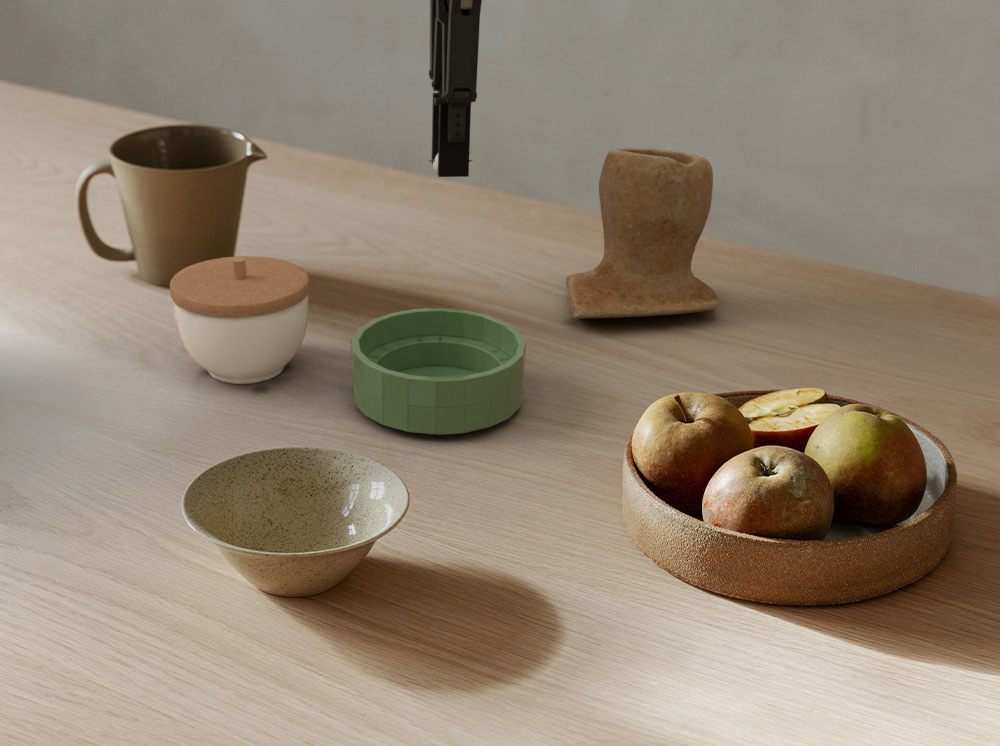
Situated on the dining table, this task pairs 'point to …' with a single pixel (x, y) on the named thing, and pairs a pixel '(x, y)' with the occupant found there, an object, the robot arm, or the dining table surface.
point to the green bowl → (438, 370)
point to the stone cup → (647, 237)
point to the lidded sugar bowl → (241, 315)
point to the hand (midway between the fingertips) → (449, 169)
